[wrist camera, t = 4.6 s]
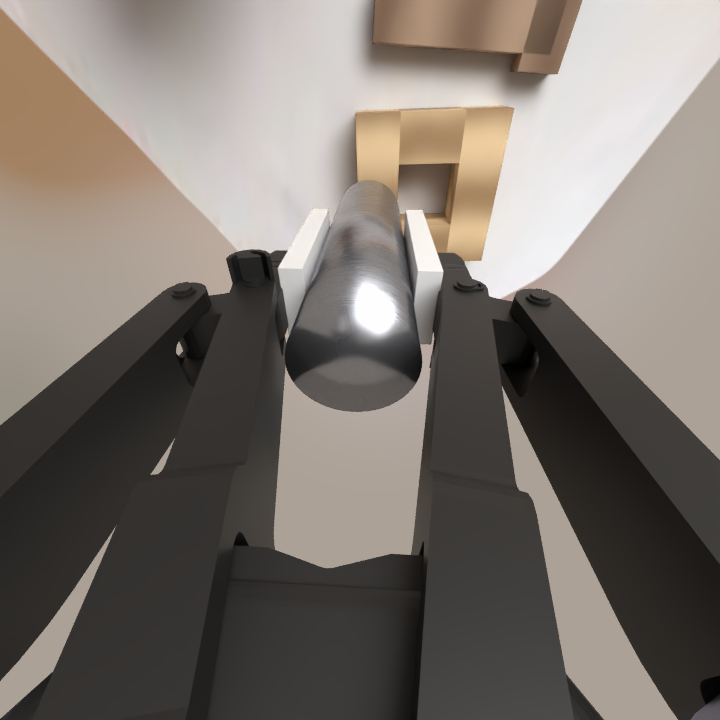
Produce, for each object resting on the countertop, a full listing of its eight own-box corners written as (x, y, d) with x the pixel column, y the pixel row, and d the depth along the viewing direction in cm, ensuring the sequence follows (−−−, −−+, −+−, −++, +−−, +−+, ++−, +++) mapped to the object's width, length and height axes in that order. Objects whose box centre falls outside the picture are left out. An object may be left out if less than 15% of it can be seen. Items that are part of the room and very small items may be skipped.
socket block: (357, 110, 28) (355, 114, 25) (501, 105, 27) (514, 108, 25) (361, 248, 36) (360, 261, 33) (473, 246, 35) (481, 260, 32)
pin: (338, 178, 18) (276, 300, 8) (402, 181, 18) (433, 309, 7) (338, 242, 21) (291, 407, 10) (395, 245, 21) (411, 415, 10)
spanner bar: (372, 61, 26) (371, 60, 25) (378, -36, 23) (377, -44, 21) (547, 74, 26) (557, 73, 25) (577, -21, 23) (591, -28, 21)
